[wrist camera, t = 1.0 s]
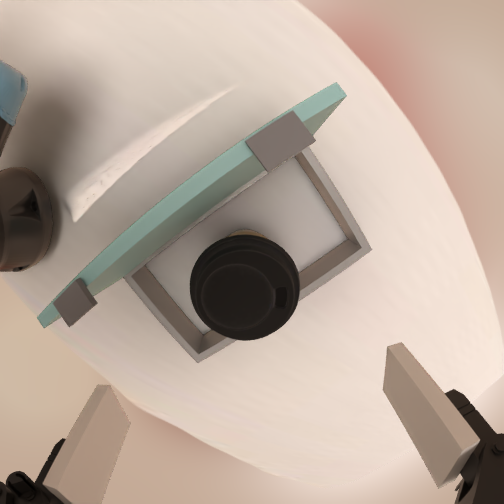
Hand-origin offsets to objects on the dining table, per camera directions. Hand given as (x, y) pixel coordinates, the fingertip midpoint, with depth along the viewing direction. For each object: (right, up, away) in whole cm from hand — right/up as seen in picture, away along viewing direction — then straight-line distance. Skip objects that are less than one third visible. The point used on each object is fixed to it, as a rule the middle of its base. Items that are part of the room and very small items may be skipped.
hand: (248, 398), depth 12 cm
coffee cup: (-1, +7, +26) cm, 27 cm away
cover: (-4, +8, +11) cm, 14 cm away
